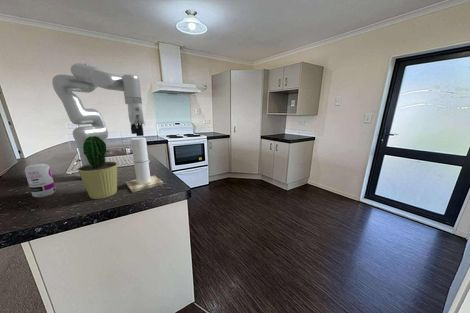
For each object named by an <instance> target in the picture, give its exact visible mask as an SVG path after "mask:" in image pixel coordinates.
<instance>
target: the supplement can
mask: <svg viewBox="0 0 470 313" xmlns="http://www.w3.org/2000/svg"><path fill="white" fill-rule="evenodd" d="M24 173H25V176H26V179H27V184H28V187H29V190H30V193H31V196H32V197H34V198H43V197H48V196H51V195H54V193H55V192H56V191H57V189H56V186H55V181H54V178H53V177H54V176H53V175H52V171H51V168H50V166H49V165H48V164H47V163H36V164H30V165H27V166H26V167H25V169H24Z"/></svg>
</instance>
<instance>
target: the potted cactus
mask: <svg viewBox="0 0 470 313" xmlns="http://www.w3.org/2000/svg"><path fill="white" fill-rule="evenodd" d="M87 137H88V136H87ZM84 141H85V140H84ZM82 149H83V151H84V152H83V153H84V155H85V156H86V157H87V160H88V162H89V164H88V165H84V166H82V165H81V166H80V167H78V168H77V171H78V173H79V174H80V176H79V177H80V178H81V180H82V183H83V185H84V187H85V189H86V191H87V192H86V193H87V194H88V197H89V198H91V200H93V199H94V200H99V199H106V198H108V197H111V196H113V195H115V194H117V193H118V162H116V161H107V160H106V155H107V153H106V152H108V151H109V150H107V142H106V141H104V140H102V139H100V138H99V137H97V136H93V137H91V136H90V137H88V138H87V139H86V141H85V142H84V144H83V148H82Z"/></svg>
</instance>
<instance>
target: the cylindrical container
mask: <svg viewBox="0 0 470 313" xmlns="http://www.w3.org/2000/svg"><path fill="white" fill-rule="evenodd" d="M130 144H131V150H132V158H133V166H134V171H135V178H136V179H135V180H136V181H137V184H146V183H149V182H150V181H151V179H150V176H151V173H150V165H149V164H150V162H149V154H148V144H147V138H146V137H133V138H132V137H131V138H130Z"/></svg>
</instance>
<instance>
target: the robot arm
mask: <svg viewBox="0 0 470 313" xmlns="http://www.w3.org/2000/svg"><path fill="white" fill-rule="evenodd" d="M70 72H71V74H72V75H70V74H65V73H64V74H55V75H54V76H52V77H53V78H52V82H51V83H52V87H53V90H54V92H55V94H56V95H57V97H58V98H59V99H60V101H61V103H62V105H63V107H64V110H65V112H66V115H67V117H68V119H69V120H70V122H71V123H72V124H74V125H78V126H79V127H75V128H74V129H73V130H72V137H73V139H74V142H75V143H76V145H77V150H78V153H79V158H80V163H81V166H84V165H88V164H89V162H88V160H87V157H86V156H85V155H84V153H83V152H84V151H83V149H82V148H83V144H84V142H85V141H86V139H87V138H88V137H90V136H91V137H93V136H97V137H99V138H100V139H102V140H103V141H104V140H106V139H107V138H108V137H109V131H108V128H107V126H106V123H105V121H104V118H103V116H102V114H101V112H99V110H97V109H95V108H86V107H85V106H84V104H83V101H82V100H81V98H80V97H79V96H78V95H76V94H75V93H74V92H76V93H77V92H78V93H85V94H88V93H93V91H95V90H96V89H97V88H102V89H105V90H107V91H109V90H110V91H119V92H123V96H124V97H123V98H124V104H125V105H127V111H128V112H127V114H128V119H129V123H130V131H131V134H132V135H136V137H141V136H143V137H144V128H143V125H144V124H145V118H144V113H143V107H142V105H143V100H142V99H143V98H142V92H141V91H142V90H141V84H140V82H141V81H140V78H139V76H138V75H135V74H122V75H119V74H117V73H116V74H115V73H110V72H105V71H104V70H103V69H101V68H100V67H97V66H92V65H90V64H85V63H81V62H80V63H79V62H77V63H74V64H72V65H71V67H70ZM80 125H81V126H80ZM82 125H83V126H82ZM87 136H88V137H87ZM84 140H85V141H84ZM73 176H74V177H76V178H78V177H81V176H80V174H79V172H74V173H73Z"/></svg>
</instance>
